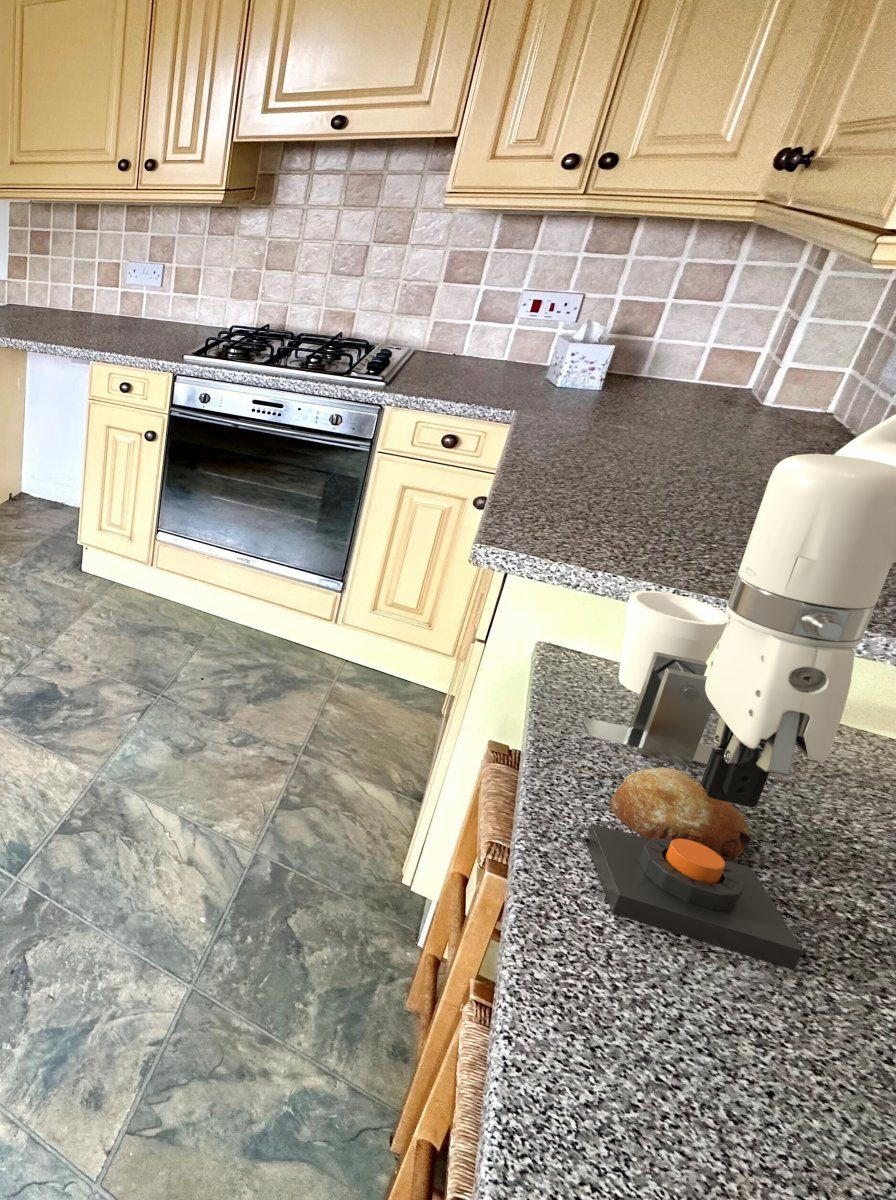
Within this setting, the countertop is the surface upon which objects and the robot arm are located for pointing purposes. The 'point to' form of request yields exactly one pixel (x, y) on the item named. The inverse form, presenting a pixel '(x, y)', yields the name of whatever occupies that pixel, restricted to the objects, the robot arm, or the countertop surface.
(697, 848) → the button
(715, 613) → the foam cup
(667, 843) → the control block
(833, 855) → the countertop surface
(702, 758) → the metal lever bracket
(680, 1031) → the countertop surface
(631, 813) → the bread roll
